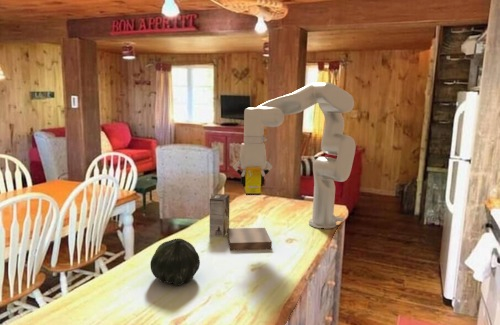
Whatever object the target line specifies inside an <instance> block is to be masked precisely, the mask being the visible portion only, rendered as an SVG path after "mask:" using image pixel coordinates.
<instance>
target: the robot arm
mask: <svg viewBox="0 0 500 325" xmlns="http://www.w3.org/2000/svg"><path fill="white" fill-rule="evenodd" d="M316 104H317V105H318V108H320V111H321V112H322V114H323V116H324V122H325V123H324V129H323V134H322V138H321V144H320V149H321V151H322V152H323V153H324V154H327V155H331V156H337V157H336V158H333V157H330V156H318V157H317V158H316V159H315V160H314V161H313V164H312V173H313V185H314V186H313V197H312V198H313V199H312V200H313V201H312V218H311V219H309V220H308V224H309V226H310V227H312V228H316V229H321V228H324V229H323V230H327V229H330V230H331V229H334V228H336V227H337V222H344V219H345V218H344V216H339V215H334V212H335V199H336V198H335V197H336V196H335V195H336V185H335V182H341V183H342V182H345V181H347V180H348V178H349V177H350V175H351V172H352V167H353V163H354V158H355V154H356V142H355V139H354V138H353V137H352V136H350V135H347V134H344V129H345V119H344V116H343V114H348V113H350V112H351V111H352V110H353V109H354V106H355V99H354V97H353V95H352V94H351V93H350V92H348V91H346V90H345V89H343V88H341V87H340V86H338V85H336V84H335V83H332V82H328V81H327V82H321V81H320V82H317V81H316V82H311V83H309V84H307V85H305V86H303V87H301V88H299V89H297V90H295V91H292V93H288V94H285V95H283V96H282V95H281V96H279V97H276V98H273V99H270V100H267V101H266V102H263V103H261V104H260V105H258V106H256V107H247V108H245V109H244V112H243V113H244V114H243V119H244V120H243V142H242V143H241V145H240V149H239V150H240V151H239V159H238V161H237V162H236V163H235V164H233V165H232V168H233V169H234V170H235V171H236V172H237V173H238V174H239V175H240V185H242V187H243V188H244V187H245V179H246V178H245V173H246V167H261V188H263V185H265V177H266V175H267V174H268V173H269V172H270V171H271V170H272V169H273V168H274V167H273V165H272V164H271V163H270V162H269V161H268V160H267V148H266V144H265V142H267V141H268V137H266V136H264V135H265V134H264V133H265V129H264V127H270V128H275V127H279V126H281V125H282V124H283V123H284V121H285V116H286V115H294V114H299V113H301V112H304V111H305V110H306V109H309V108H310V107H312V106H314V105H316ZM239 167H240V168H239Z"/></svg>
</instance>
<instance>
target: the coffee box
mask: <svg viewBox="0 0 500 325" xmlns="http://www.w3.org/2000/svg"><path fill="white" fill-rule="evenodd" d="M230 199H231V198H230V194H222V193H215V194H214V195H213V196H212V197H210V198H209V236H210V237H219V238H224V237H225V236H227V229H228V228H230Z"/></svg>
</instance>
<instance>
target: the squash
mask: <svg viewBox="0 0 500 325" xmlns="http://www.w3.org/2000/svg"><path fill="white" fill-rule="evenodd" d="M200 265H201V261H200V255H199V254H198V252H197V250H196V248H195V247H194V245H193V244H192V243H191V242H189V241H187V240H185V239H184V238H173V239H171V240H167V241H165V242H163V243H160V245H158V246H157V248H156V250H155V252H154V254H153V255H152V257H151V259H150V271H151V274H152V275H153V276H154V277H155V279H158V280H159V281H160V282H161V283H167V284H172V283H173V284H174V285H176V286H181V285H182V284H187V283H189V282H190V281H191V280H192V279H193V278H194V276H195V275H196V273H197V272H198V270H199V268H200Z"/></svg>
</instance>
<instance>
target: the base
mask: <svg viewBox="0 0 500 325" xmlns="http://www.w3.org/2000/svg"><path fill="white" fill-rule="evenodd" d="M226 237H227V242H228V248H229V251H256V250H272V244H273V243H272V239H271V237H270V235H269V233H268V231H267V230H266V228H265V227H246V228H245V227H242V228H241V227H237V228H236V227H235V228H234V227H233V228H231V227H229V228H228V229H227V233H226Z"/></svg>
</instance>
